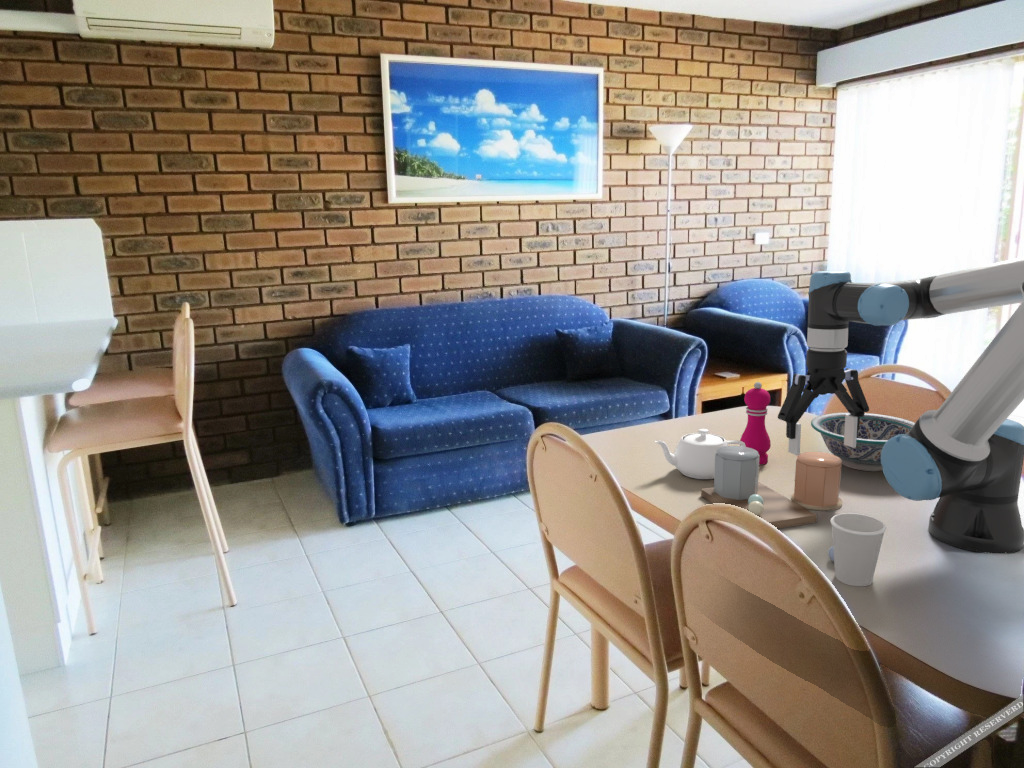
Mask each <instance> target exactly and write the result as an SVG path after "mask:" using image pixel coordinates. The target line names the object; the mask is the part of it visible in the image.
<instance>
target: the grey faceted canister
mask: <svg viewBox="0 0 1024 768" xmlns="http://www.w3.org/2000/svg"><path fill="white" fill-rule="evenodd" d="M759 457H760V455H759V454H758V451H756V450H754V449H752V448H748V447H743V446H740V445H728V446H725V447H721V448H718V449H717V453H716V454H715V474H714V479H713V483H714V484H713V487H714V492H715V493H717V494H718V495H720V496H721V497H724V498H730V499H737V500H743V499H748V498H749V497H750V496H751V495H753V494H757V493H758V482H759V473H760V465H759Z"/></svg>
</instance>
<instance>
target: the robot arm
mask: <svg viewBox="0 0 1024 768" xmlns="http://www.w3.org/2000/svg"><path fill="white" fill-rule="evenodd" d="M851 276H852V275H851V273H850V271H845V270H824V271H823V270H822V271H821V270H820V271H815V272H813V273H812V274H811V275H810V278H809V286H808V287H809V288H808V292H807V293H808V311H807V312H808V313H807V314H808V315H807V316H808V317H807V335H806V336H807V337H806V338H807V339H806V345H807V347H809V348H808V349H807V350H806V359H805V360H806V361H805V362H806V363H805V365H806V367H807V373H806V374H800V373H794V374H793V375H792V383H791V385H790V388H789V389H788V393H787V395H786V397H785V398H784V401H783V403H782V405H781V408H780V410H779V412H778V415H777V419H778V420H780V421H783V422H785V423H786V428H785V429H786V431H785V433H786V434H785V435H786V438H788V446H787V447H788V449H787V450H788V453H789V454H793V455H795V456H798V455H800V454H801V435H802V434H801V433H802V432H801V431H802V430H801V429H802V424H801V423H799V421H800V420H801V418H802V417H803V416H804V414H805V412H806V411H807V410H808V408H809V407H810V406H811V405H812V403H813V402H814V400H815V399H817V398H818V397H819V396H824V395H827V394H831V395H832V394H835V396H836V397H837V399H838V400H839V401H840V402H841V404H842V405H843V406H844V407H845V409H846V410H847V412H849V413H850V415H849V414H846V415H845V432H844V445H847V446H850V447H852V448H855V447H856V437H857V431H858V430H859V423H860V417H863V416H864V414H865V413H869V411H870V408H869V404H868V402H867V399H866V397H865V394H864V392H863V389H862V386H861V384H860V382H859V371H858V370H857V369H853V368H849V367H848V368H846V367H847V359H848V351H847V349H845V348H847V347H848V345H849V344H848V343H849V341H848V340H849V322H852V323H859V324H868V325H872V326H875V327H878V326H887V327H888V326H894V325H897V324H898V323H899V322H900V321H907V320H909V321H910V320H918V319H933V318H934V319H935V318H938V317H941V316H944V315H949V314H950V315H951V314H957V313H962V312H969V311H977V310H983V309H987V308H988V309H989V308H994V307H1003V306H1008V305H1015V304H1020V305H1019V306H1018V307H1017V309H1016V310H1014V312H1013V313H1012V315H1011V316H1010V317H1009V319H1008V320H1007V321H1006V323H1005V324H1004V325H1003V326H1002V327H1001V329H1000V330H999V332H998V333H997V334H996V335H995V336H994V337H993V339H992V340H991V342H990V343H989V344H988V345H987V347H986V348H985V349H984V350H983V352H982V353H981V354H980V356H979V357H978V358H977V359H976V361H975V362H974V363H973V364H972V365H971V367H970V368H969V370H968V371H967V372H966V374H965V375H964V376H963V377H962V378H961V379H960V381H959V382H958V384H957V385H956V386H955V387H954V388H953V389H952V391H951V392H950V394H949V395H948V397H947V398H946V399H945V400H944V401H943V403H942V404H941V405H940V406H939V408H938V409H929V410H926V411H924V412H923V413H922V414H921V415H920V416H919V418H918V419H917V420H916V422H915V424H914V425H913V427H912V428H911V429H910V431H909V432H907V433H906V434H898V435H896V436H894V437H892V438H890V439H889V440H888V441H887V442H886V443H885V444H884V446H883V448H882V451H881V464H882V467H883V470H882V472H883V475H884V477H885V480H886V481H887V482H888V485H889V486H890V487H891V488H892V489H893V490H894V491H895V492H896V493H897V494H898V495H900V496H901V497H903V498H905V499H907V500H909V501H910V500H911V501H914V502H919V501H933V500H936V499H938V501H937V502H936V504H935V507H934V509H933V511H932V512H931V514H930V516H929V519H928V531H929V533H930V535H932V536H933V537H934V538H936V539H937V540H939V541H941V542H943V543H945V544H947V545H950V546H953V547H956V548H959V549H962V550H965V551H972V552H977V553H984V554H993V555H998V554H999V555H1000V554H1002V555H1004V554H1012V553H1015V552H1018V551H1020V550H1022V549H1023V548H1024V527H1023V524H1022V518H1021V514H1020V510H1019V504H1018V502H1019V493H1020V486H1021V480H1022V473H1023V472H1022V471H1023V466H1024V425H1023V424H1021V423H1020V422H1018V421H1015V420H1012V419H1008V418H1009V417H1010V416H1011V415H1012V413H1013V412H1014V411H1015V410H1016V409H1017V408H1018V407H1019V405H1020V404H1021V403H1022V402H1023V401H1024V256H1021V257H1017V258H1012V259H1007V260H1003V261H998V262H994V263H989V264H984V265H980V266H975V267H970V268H966V269H961V270H957V271H952V272H947V273H943V274H938V275H933V276H928V277H924V278H919V279H918V278H916V279H911V280H898V281H897V280H896V281H883V282H872V283H871V282H852V277H851ZM844 380H845V384H846V386H847V388H846V386H845V385H844V384H843V382H844ZM848 391H849V392H848ZM849 393H850V394H849Z"/></svg>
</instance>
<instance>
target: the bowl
mask: <svg viewBox="0 0 1024 768" xmlns="http://www.w3.org/2000/svg"><path fill="white" fill-rule="evenodd" d="M864 413H865V414H864V416H863V417H860V423H859V430H858V431H857V437H856V447H855V448H852V447H850V446H847V445H844V432H845V415H846V414H849V415H850V413H849V412H848V411H847V412H833V413H831V412H830V413H826V414H821V415H818V416H816V417H814V418H813V419H812V420H811V421H810V426H811V427H812V428H813V430H815V431H817V432H818V433H820V435H821V438H822V440H823V442H824V445H825V446H826V448H827V449H828V451H829V452H830V454H832V455H835V456H837V457H839V458H840V459H841V461H842V465H843V466H845V467H846V468H849V469H853V470H857V471H864V472H880V471H883V467H882V464H881V451H882V448H883V446H884V444H885V443H886V442H887V441H888V440H889V439H890V438H892V437H894V436H896V435H898V434H906V433H907V432H909V431H910V429H911V428H912V427H913V425H914V424H915V423H916V422H914V421H911V420H910V419H905V418H902V417H897V416H892V415H886V414H885V415H884V414H879V413H869V412H864Z"/></svg>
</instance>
